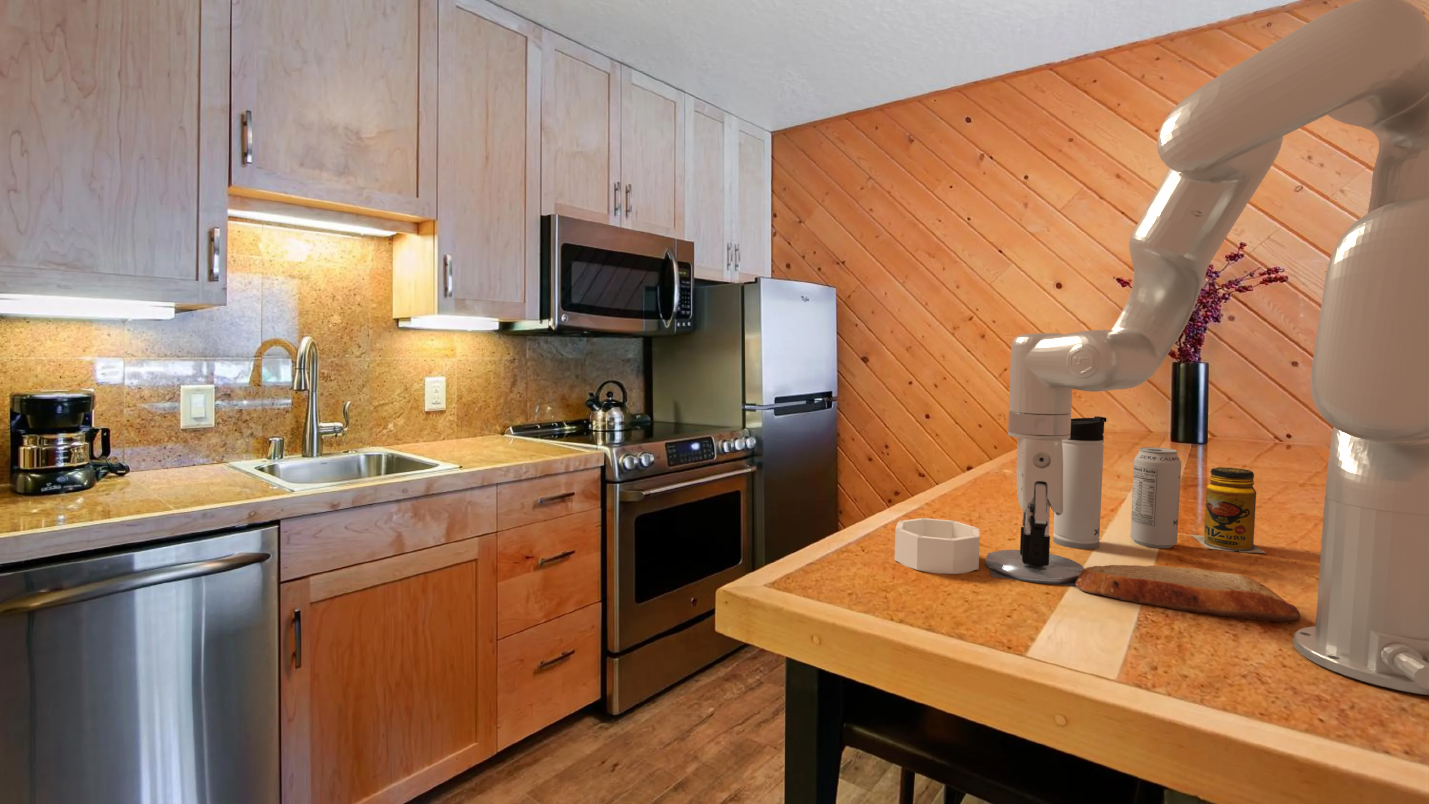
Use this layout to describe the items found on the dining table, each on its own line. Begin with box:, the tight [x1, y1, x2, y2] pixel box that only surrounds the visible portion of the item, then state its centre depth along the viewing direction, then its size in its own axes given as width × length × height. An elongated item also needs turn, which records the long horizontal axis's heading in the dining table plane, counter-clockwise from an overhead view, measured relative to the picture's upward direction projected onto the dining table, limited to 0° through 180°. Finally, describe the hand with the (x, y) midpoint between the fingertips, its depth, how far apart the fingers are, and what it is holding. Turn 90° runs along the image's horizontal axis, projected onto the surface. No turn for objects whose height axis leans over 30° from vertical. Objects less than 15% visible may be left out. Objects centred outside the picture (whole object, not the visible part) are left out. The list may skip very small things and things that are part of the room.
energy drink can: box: [1129, 446, 1182, 549], centre depth 102 cm, size 6×6×15 cm
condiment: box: [1191, 466, 1267, 554], centre depth 102 cm, size 7×8×12 cm
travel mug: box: [1052, 415, 1107, 550], centre depth 102 cm, size 6×7×20 cm
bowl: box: [894, 517, 981, 575], centre depth 93 cm, size 11×11×5 cm
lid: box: [985, 525, 1085, 585], centre depth 90 cm, size 12×12×6 cm
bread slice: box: [1075, 564, 1302, 622], centre depth 79 cm, size 18×18×4 cm
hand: (1034, 559), depth 90 cm, fingers closed on lid, 2 cm apart
